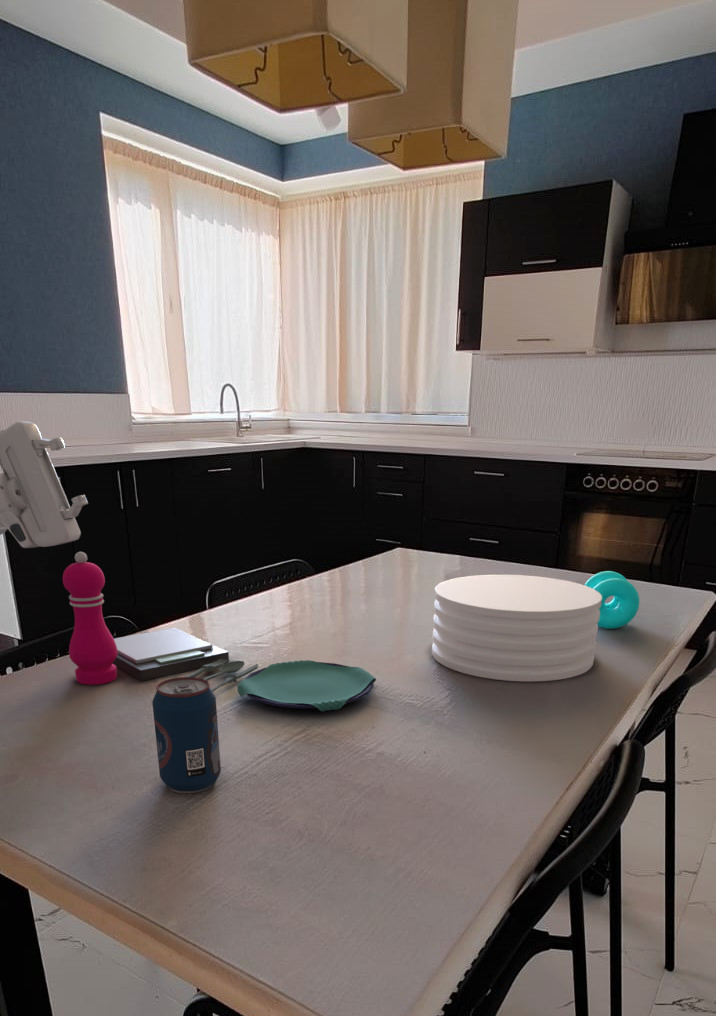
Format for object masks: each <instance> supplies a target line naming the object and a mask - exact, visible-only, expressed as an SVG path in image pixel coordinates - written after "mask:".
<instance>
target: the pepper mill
mask: <svg viewBox="0 0 716 1016" xmlns="http://www.w3.org/2000/svg"><path fill="white" fill-rule="evenodd" d="M74 560H75V562H74V563H71V564H70V565H68V566H67V567H66V568H65V569H64V571H63V575H62V583H63V586H64V588H65V590H67V591H68V593H69V594H70V595H68V599H69V605H70V606H71V607H72V608H73V612H74V613H73V614H74V627H73V632H72V635H71V638H70V641H69V647H68V653H69V660H71V662H72V663H73V664H74V665H76V668H75V670H74V673H75V678H76V679H75V680H76V682H77V683H79V684H81V685H88V686H97V685H104V684H108V683H112V682H113V681H115V680H117V678H118V671H117V666H115V665H114V664H112V663H113V661H114V660H115V659H116V657H117V655H118V651H117V646H116V643H115V641H114V639H115V638H114V637H113V635H112V632H110V630H109V628H108V627H107V625H106V622H105V619H104V615H103V604H104V603H105V600H104V598H103V597H104V594H103V593H102V592H101V591H102V589H103V588H104V587H105V583H106V580H105V575H104V574H105V573H104V572H103V571H102V569H101V568H100V567H99V566H98V565H97V564H95V563H92V562H90V561H88V555H87V553H86V552H83V551H78V552H76V553H75V555H74Z"/></svg>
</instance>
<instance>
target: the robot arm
mask: <svg viewBox="0 0 716 1016" xmlns="http://www.w3.org/2000/svg"><path fill="white" fill-rule="evenodd" d="M64 448H66V445H65V443H64V440H63V438H62V437H55V438H53V439H49V438H42V435H41V432H40V431H39V428H38V426H37V425H36V423H34V422H31V421H26V420H25V421H17V422H15V423H13V424H11V425H10V426H8V427H7V428H6V429H3V430H0V536H1V535H3V534H4V533H5V532H7V531H9V533H10V534H11V535H12V536H13V537H14V539H15V540H16V541H17V543H18V544H19V546H20V547H21V548H23V549H32V548H39V547H41V548H42V547H43V548H47V547H48V548H49V547H53V546H58V545H64V544H68V543H72V542H75V541H78V540H79V539H80V537H81V535H82V532H81V529H80V527H79V524H78V522H77V520H76V518H77V517H78V516H79V515H80V512H81V510H82V508H83V507H84V506H85V505H88V504H89V502H88V500H87V499H88V498H87V497H86V495H85V494H83V495H82V494H79V495H76V496H75V497H72V498H71V502H72V505H71V506H70V503H69V500H68V498H67V495H66V493H65V490H64V488H63V486H62V484H61V481H60V479H59V476H58V474H57V472H56V469H55V467H54V464H53V462H52V460H51V457H50V454H49V452H48V450H47V449H50V451H53V452H54V451H60V450H62V449H64Z"/></svg>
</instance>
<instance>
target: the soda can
mask: <svg viewBox="0 0 716 1016" xmlns="http://www.w3.org/2000/svg"><path fill="white" fill-rule="evenodd" d="M211 689H212V688H211V687H210V682H209V681H206V680H204V679H203V678H201V677H185V676H179V677H173V678H169V679H165V680H162V681H161V682H159V683H157V685H156V691H155V694H154V696H153V699H152V712H153V722H154V723H153V724H154V731H155V732H154V733H155V743H156V751H157V762H158V771H159V772H158V773H159V777H160V779H161V781H162V782H163V784H164V785H165V786H166V787H167V788H168V790H170V791H172V792H174V793H179V794H195V793H201V792H205V791H207V790H209V789H211V788H212V787H213V786H214V785H215V784H216V782H217V780H218V778H219V777H220V774H221V771H222V767H221V751H220V739H219V724H218V709H217V698H216V695H215V694H214V691H213V692H212V691H211Z"/></svg>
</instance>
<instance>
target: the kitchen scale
mask: <svg viewBox="0 0 716 1016" xmlns="http://www.w3.org/2000/svg"><path fill="white" fill-rule="evenodd" d="M114 641H115V643H116V646H117V651H118V655H117V657H116V659H115V660H114V661H113V663H112V664H114V665H115V666H116V668H118V669H120V670H122V671H124V672H125V673H127V674H129V675H130V676H132V677H134V678H136V679H138V681H141V682H145V681H148V680H153V679H158V678H161V677H162V678H163V677H167V676H172V675H175V674H181V673H185V672H189V671H193V670H199V669H200V668H202V665H207V664H209V663H213V662H216V661H218V660H220V659H221V661H222V660H223V659H224V660H225V661H226V660H228V661H227V662H226V663H229V662H230V655H229V654H230V653H229V651H228V650H225V649H222V648H220V647H218V646H217V645H214V644H212V643H209V642H207V641H205V640H202V639H200V638H198V637H196V636H194V635H191V634H190V633H188V632H185V631H183V630H180V629H179V628H175V627H170V628H165V629H160V630H155V631H148V632H143V633H137V634H133V635H132V634H131V635H126V636H120V637H115V638H114Z"/></svg>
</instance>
